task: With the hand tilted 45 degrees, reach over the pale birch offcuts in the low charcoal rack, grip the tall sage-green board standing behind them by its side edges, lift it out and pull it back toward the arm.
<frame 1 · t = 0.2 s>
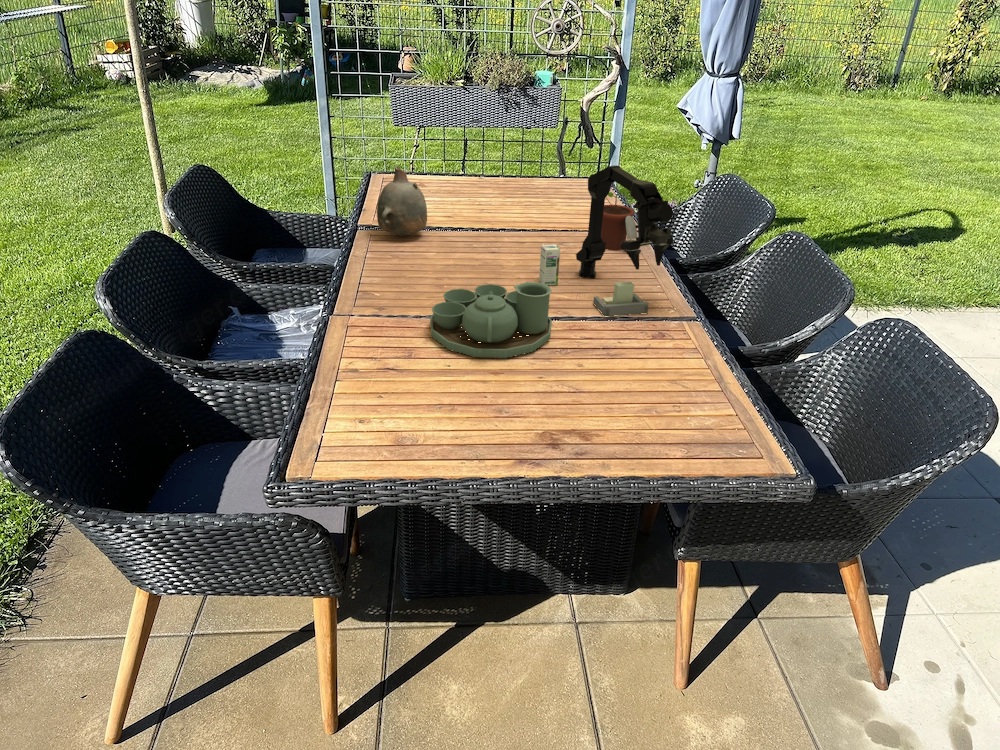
hand: (648, 267, 240), 15 cm above the table, tool tilted 15°, fingers open, 9 cm apart
green board: (621, 310, 246), resting in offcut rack
potted plant: (613, 248, 301), on the table
jug: (403, 236, 304), on the table
syrup box: (548, 283, 265), on the table
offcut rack: (621, 310, 245), on the table
tea set: (489, 331, 228), on the table
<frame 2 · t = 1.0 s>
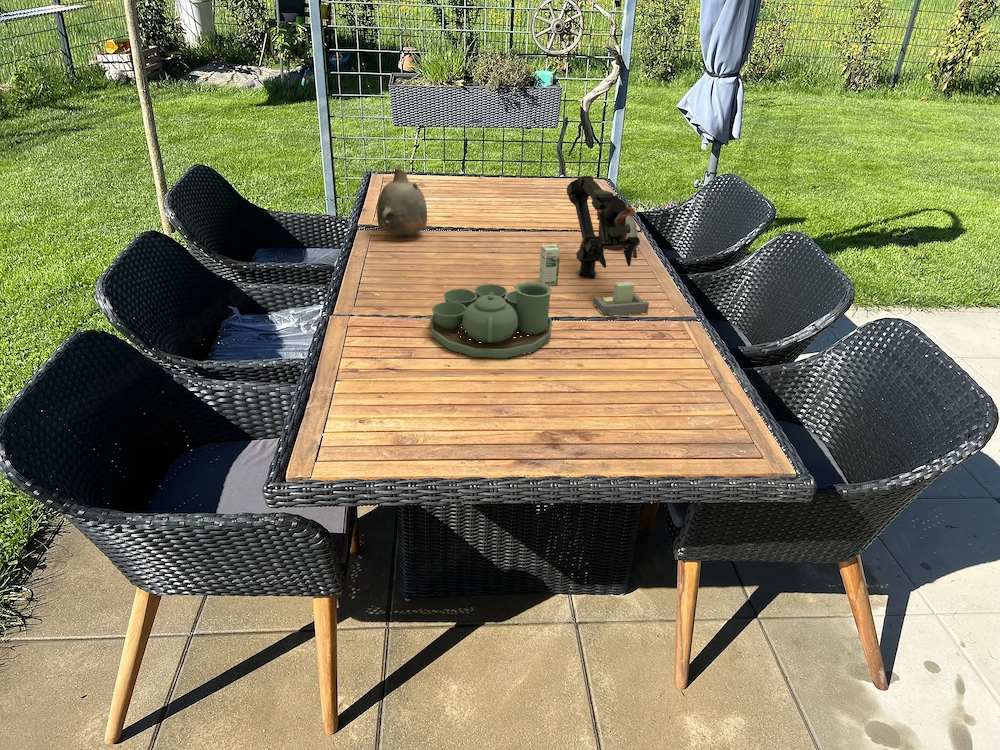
hand: (617, 266, 245), 13 cm above the table, tool tilted 45°, fingers open, 9 cm apart
nothing on the table moved.
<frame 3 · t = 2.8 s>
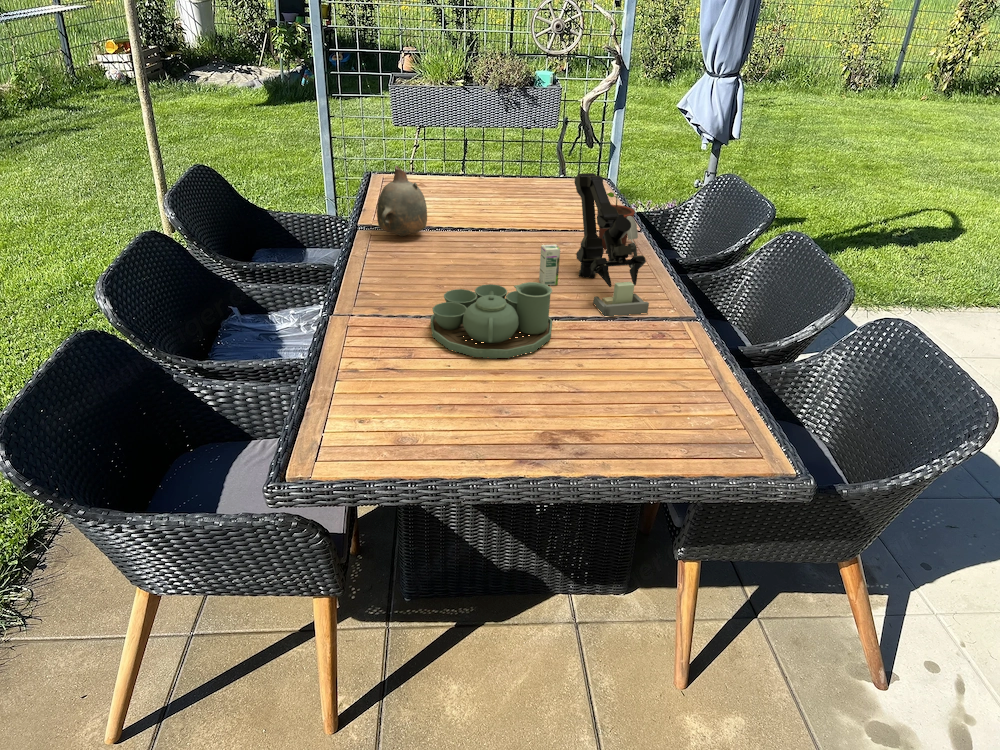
hand: (622, 286, 242), 9 cm above the table, tool tilted 45°, fingers open, 9 cm apart
nothing on the table moved.
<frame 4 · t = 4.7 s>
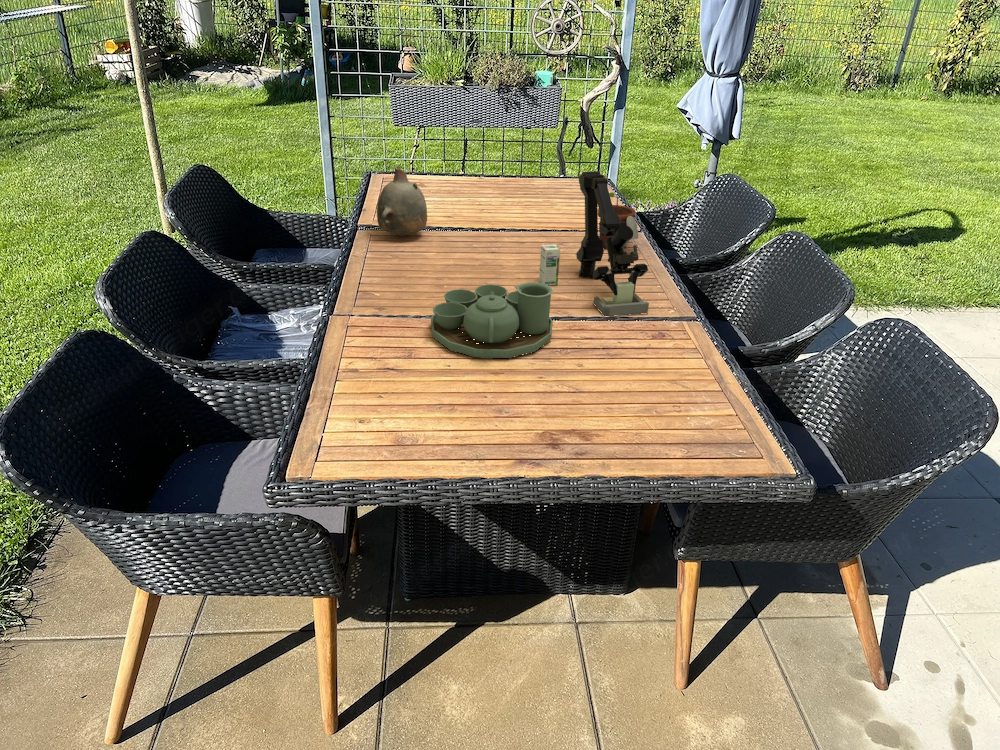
hand: (625, 294, 241), 7 cm above the table, tool tilted 45°, fingers closed on green board, 6 cm apart
green board: (621, 310, 245), resting in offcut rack, touching gripper
everything else where it was.
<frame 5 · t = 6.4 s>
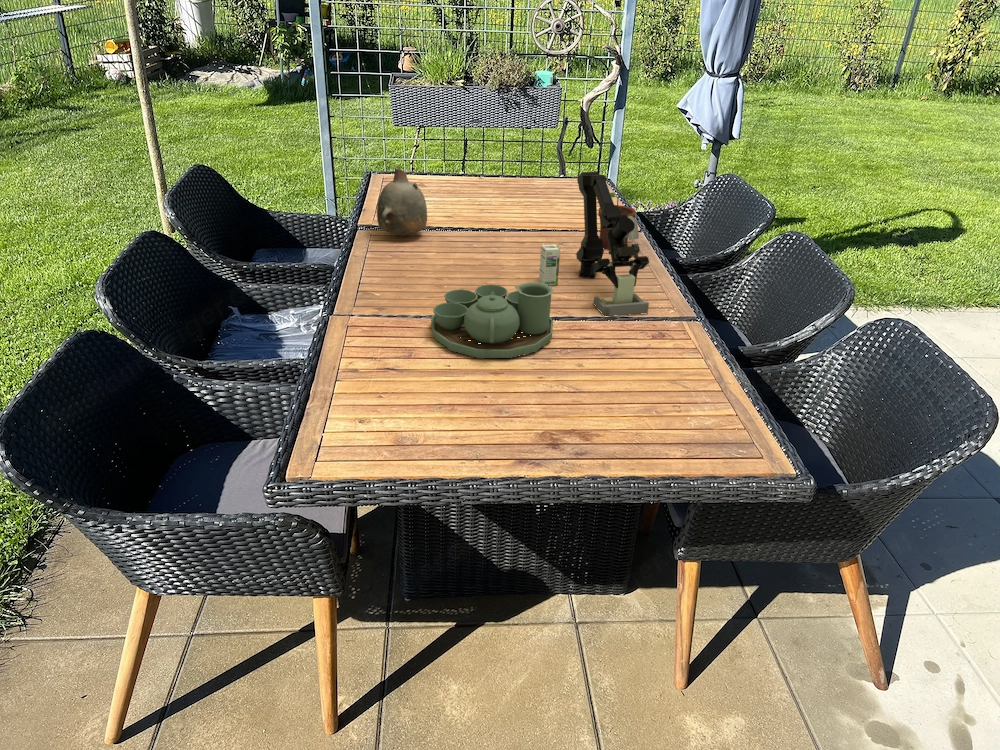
hand: (626, 287, 240), 9 cm above the table, tool tilted 45°, fingers closed on green board, 6 cm apart
green board: (622, 303, 244), point 3 cm above the table, touching gripper
everything else where it was.
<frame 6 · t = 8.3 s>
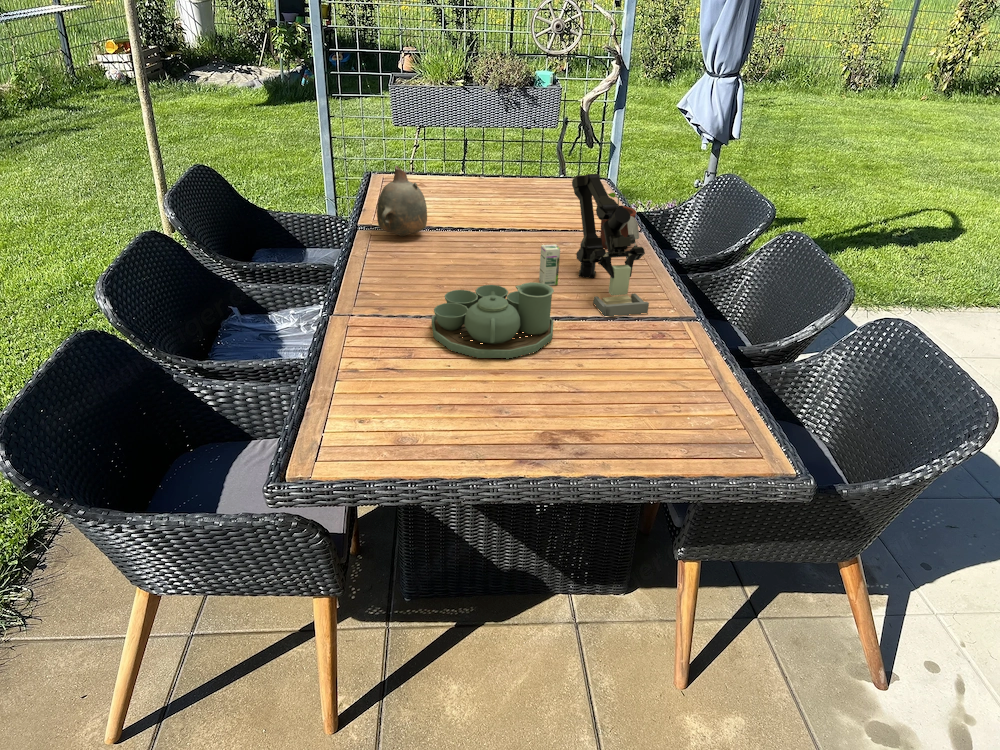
hand: (621, 277, 242), 11 cm above the table, tool tilted 45°, fingers closed on green board, 6 cm apart
green board: (617, 293, 247), point 5 cm above the table, touching gripper
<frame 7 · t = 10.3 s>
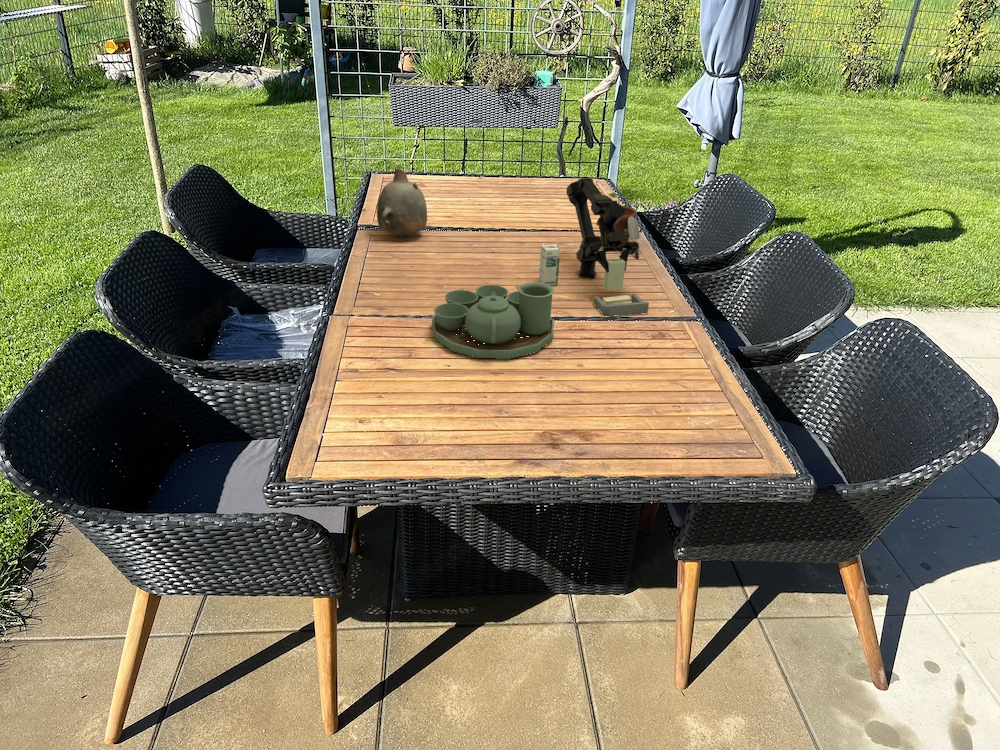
hand: (616, 271, 246), 12 cm above the table, tool tilted 45°, fingers closed on green board, 6 cm apart
green board: (612, 287, 251), point 5 cm above the table, touching gripper
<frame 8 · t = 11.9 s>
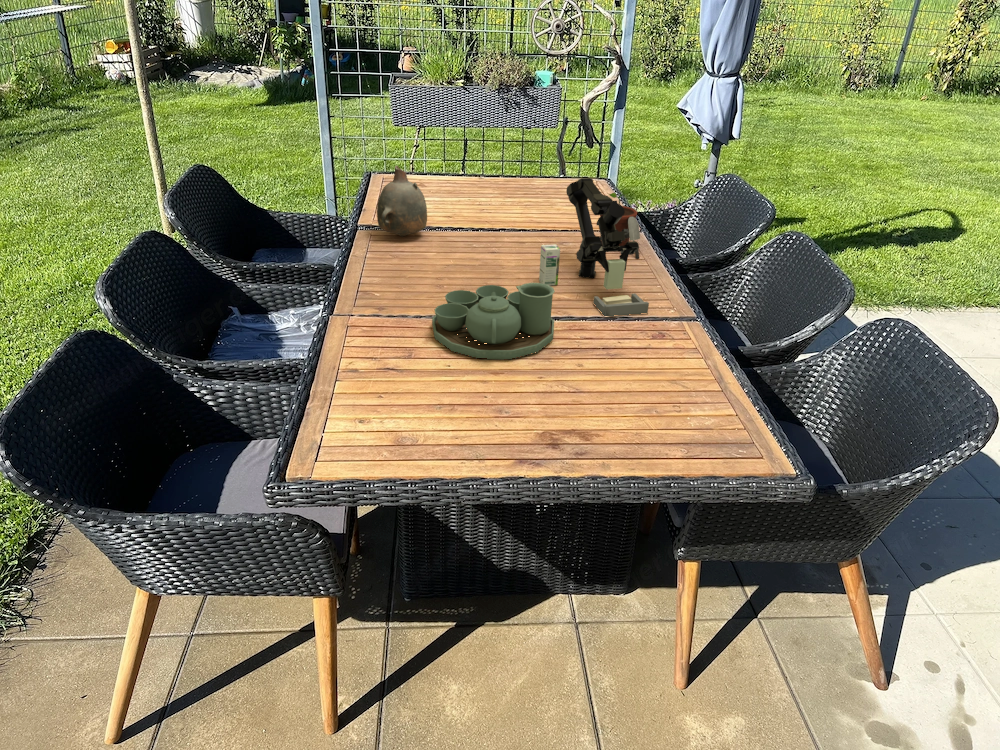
hand: (616, 271, 246), 12 cm above the table, tool tilted 45°, fingers closed on green board, 6 cm apart
green board: (612, 287, 251), point 5 cm above the table, touching gripper
at the end: the gripper is holding green board; green board inside the target area (0.3 cm from its centre), point 4.9 cm above the table; green board tilted 0° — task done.
